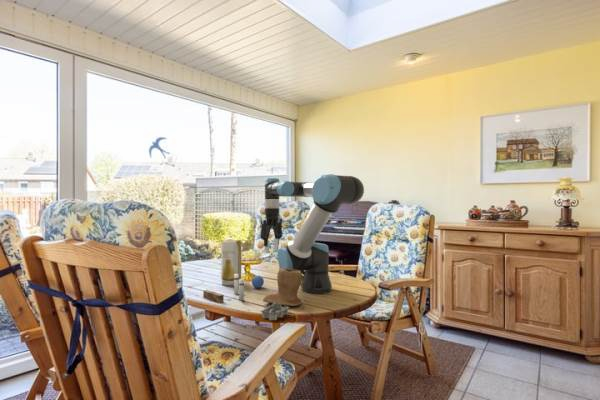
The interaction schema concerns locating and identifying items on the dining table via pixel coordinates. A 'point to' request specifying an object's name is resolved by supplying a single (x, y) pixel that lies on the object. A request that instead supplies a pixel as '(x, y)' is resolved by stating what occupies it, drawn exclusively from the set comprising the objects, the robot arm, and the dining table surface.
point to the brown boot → (286, 288)
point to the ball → (257, 281)
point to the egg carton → (271, 313)
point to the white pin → (236, 284)
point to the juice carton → (230, 260)
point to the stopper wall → (213, 296)
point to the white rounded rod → (241, 289)
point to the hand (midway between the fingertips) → (271, 251)
